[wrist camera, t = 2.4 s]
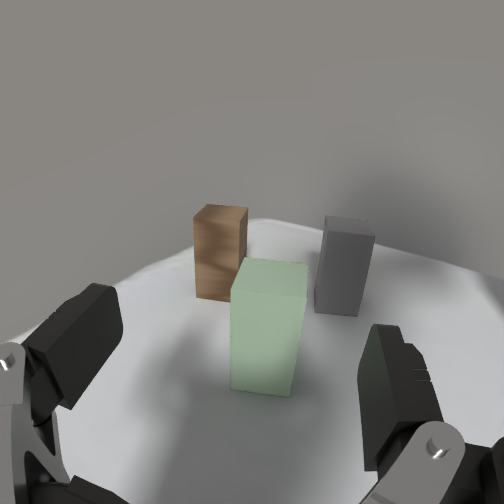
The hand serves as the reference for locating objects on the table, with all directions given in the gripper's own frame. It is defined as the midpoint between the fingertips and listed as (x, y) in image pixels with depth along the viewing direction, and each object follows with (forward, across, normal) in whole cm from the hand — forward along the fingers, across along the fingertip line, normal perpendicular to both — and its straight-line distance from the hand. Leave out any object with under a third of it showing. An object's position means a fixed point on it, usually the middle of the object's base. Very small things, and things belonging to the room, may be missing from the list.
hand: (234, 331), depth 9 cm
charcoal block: (+26, -7, +15) cm, 31 cm away
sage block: (+13, 0, +15) cm, 20 cm away
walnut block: (+26, +7, +15) cm, 31 cm away
